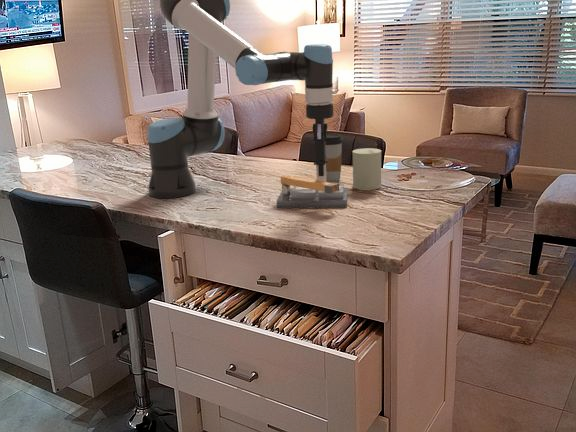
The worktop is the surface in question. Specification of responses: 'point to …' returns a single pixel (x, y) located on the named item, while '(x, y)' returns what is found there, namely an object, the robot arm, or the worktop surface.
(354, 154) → the can
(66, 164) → the worktop surface
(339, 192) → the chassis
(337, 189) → the bar
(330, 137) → the coffee cup
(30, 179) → the worktop surface
